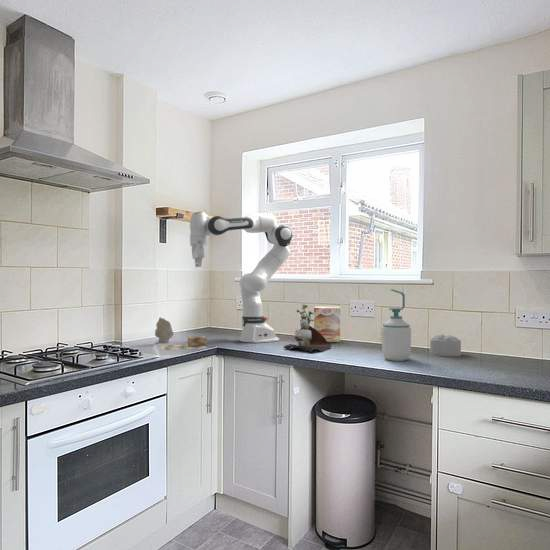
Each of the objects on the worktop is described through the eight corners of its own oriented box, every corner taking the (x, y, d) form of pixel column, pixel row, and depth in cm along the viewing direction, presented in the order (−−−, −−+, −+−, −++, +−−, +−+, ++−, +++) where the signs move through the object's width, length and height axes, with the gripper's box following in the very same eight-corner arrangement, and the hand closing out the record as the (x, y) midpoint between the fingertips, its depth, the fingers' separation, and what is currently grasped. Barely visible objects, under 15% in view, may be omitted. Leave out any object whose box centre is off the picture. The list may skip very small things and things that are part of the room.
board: (202, 345, 228) (202, 343, 228) (206, 349, 216) (206, 347, 216) (160, 348, 221) (160, 345, 221) (162, 352, 209) (162, 350, 209)
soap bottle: (383, 355, 196) (383, 288, 196) (411, 357, 192) (411, 288, 192) (380, 360, 185) (379, 289, 185) (410, 362, 180) (409, 289, 180)
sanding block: (204, 344, 224) (204, 336, 224) (206, 346, 220) (206, 337, 220) (187, 345, 222) (187, 337, 222) (188, 347, 217) (188, 338, 217)
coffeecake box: (313, 341, 240) (313, 307, 240) (314, 339, 247) (314, 306, 247) (340, 342, 238) (340, 307, 238) (340, 340, 245) (340, 306, 245)
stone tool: (175, 344, 235) (174, 317, 235) (172, 345, 231) (171, 317, 231) (156, 343, 237) (156, 316, 237) (153, 344, 234) (153, 317, 234)
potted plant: (282, 354, 215) (283, 306, 223) (305, 358, 228) (306, 313, 236) (312, 352, 202) (313, 301, 210) (335, 356, 215) (335, 308, 223)
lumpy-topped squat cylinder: (463, 356, 194) (463, 337, 194) (435, 356, 194) (434, 337, 194) (453, 352, 205) (453, 334, 205) (426, 352, 204) (426, 334, 204)
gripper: (207, 240, 223) (207, 266, 223) (201, 243, 243) (201, 267, 243) (195, 240, 221) (195, 266, 221) (190, 242, 241) (190, 267, 241)
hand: (198, 266), depth 232 cm, fingers open, 8 cm apart
